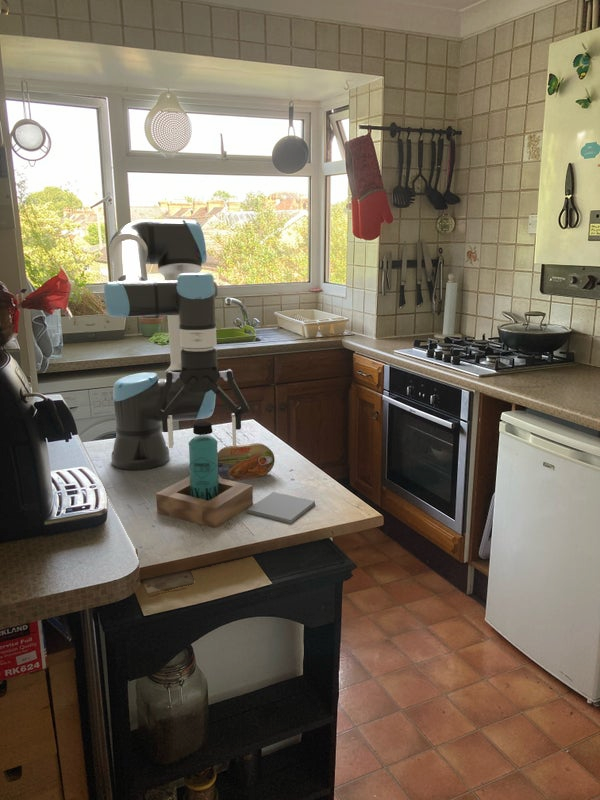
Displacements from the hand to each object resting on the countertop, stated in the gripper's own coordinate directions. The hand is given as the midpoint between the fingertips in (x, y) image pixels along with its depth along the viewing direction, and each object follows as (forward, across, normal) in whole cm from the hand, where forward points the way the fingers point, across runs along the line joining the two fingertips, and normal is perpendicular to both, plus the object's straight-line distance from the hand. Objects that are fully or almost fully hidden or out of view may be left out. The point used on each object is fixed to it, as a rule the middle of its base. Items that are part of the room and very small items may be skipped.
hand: (203, 445), depth 137 cm
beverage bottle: (+15, 0, 0) cm, 15 cm away
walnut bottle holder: (+15, 0, 0) cm, 15 cm away
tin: (+15, +9, +19) cm, 26 cm away
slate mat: (+15, +17, -2) cm, 23 cm away
